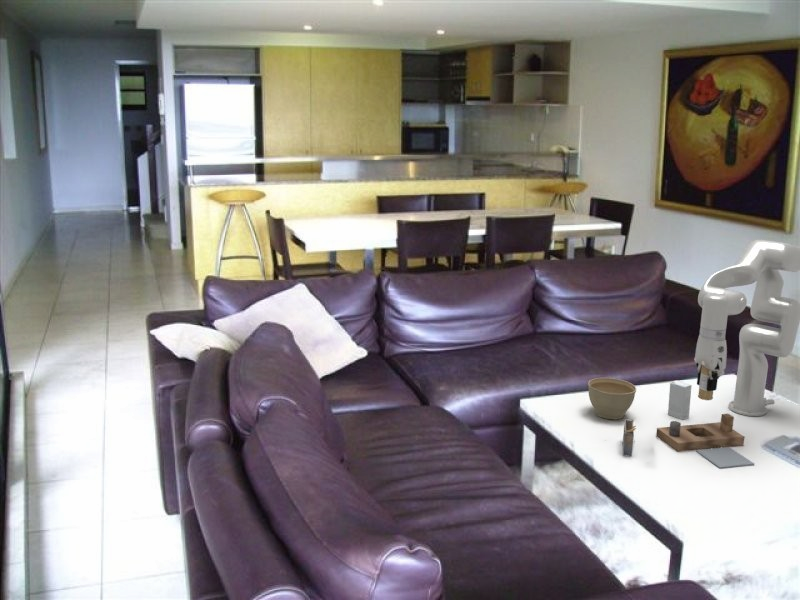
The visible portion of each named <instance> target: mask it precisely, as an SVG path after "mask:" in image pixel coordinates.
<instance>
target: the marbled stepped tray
mask: <svg viewBox="0 0 800 600" xmlns="http://www.w3.org/2000/svg"><path fill="white" fill-rule="evenodd" d="M623 425H624V426H623V435H622V456H626V455H627V456H628V457H632V455H633V447H634V446H633V445H634V437H635V434H634V432H635V430H636V429H637V428H636V427H637V426H636V425H634V420H631V419H624V424H623Z"/></svg>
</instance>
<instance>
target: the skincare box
mask: <svg viewBox="0 0 800 600" xmlns="http://www.w3.org/2000/svg"><path fill="white" fill-rule="evenodd" d="M691 396H692V384H690V383H687V382H684V381H679V380H674V381H672V382H670V383H669V394H668V405H667V406H668V407H667V408H668V410H667V415H668V416H671V417H674V418H676V419H680V420H686V419H688V418H689V417H690V406H691V398H692V397H691Z"/></svg>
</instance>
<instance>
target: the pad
mask: <svg viewBox="0 0 800 600" xmlns="http://www.w3.org/2000/svg"><path fill="white" fill-rule="evenodd" d="M695 452H696V453H697V454H699V456H701V457H702V458H704V459H705V460H706V461H708V462H709V463H710V464H712V465H713V466H715V467H717V468H718V469H720V470H722V469H728V468H729V469H730V468H739V467H740V468H741V467H748V466H755V463H754V462H753V461H751V460H750V459H748V458H747V457H745V456H744V455H742V454H740V453H739V452H738V451H737V450H735V449H733V448H732V447H723V448H713V449H703V450H695Z"/></svg>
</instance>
